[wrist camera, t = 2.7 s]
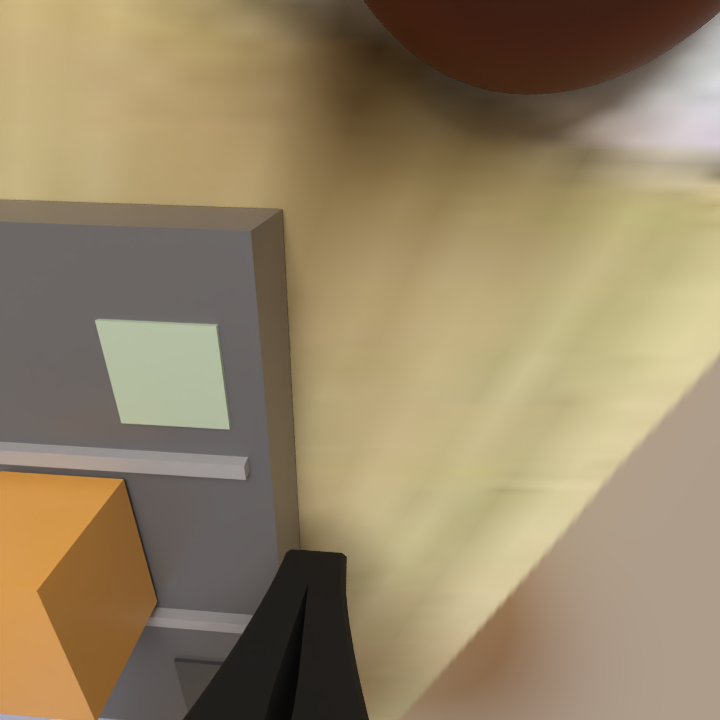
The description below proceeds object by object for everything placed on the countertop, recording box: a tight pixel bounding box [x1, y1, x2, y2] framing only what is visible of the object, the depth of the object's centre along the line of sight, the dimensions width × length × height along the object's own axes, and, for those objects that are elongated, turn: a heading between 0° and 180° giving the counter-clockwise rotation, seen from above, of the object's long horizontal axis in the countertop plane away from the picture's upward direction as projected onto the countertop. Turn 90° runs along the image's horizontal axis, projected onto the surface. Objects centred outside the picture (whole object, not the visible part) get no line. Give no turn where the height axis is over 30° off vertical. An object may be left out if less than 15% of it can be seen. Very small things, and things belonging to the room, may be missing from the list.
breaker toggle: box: [0, 471, 157, 720], centre depth 10 cm, size 4×3×3 cm
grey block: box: [0, 200, 300, 720], centre depth 13 cm, size 17×10×3 cm, turn 179°
